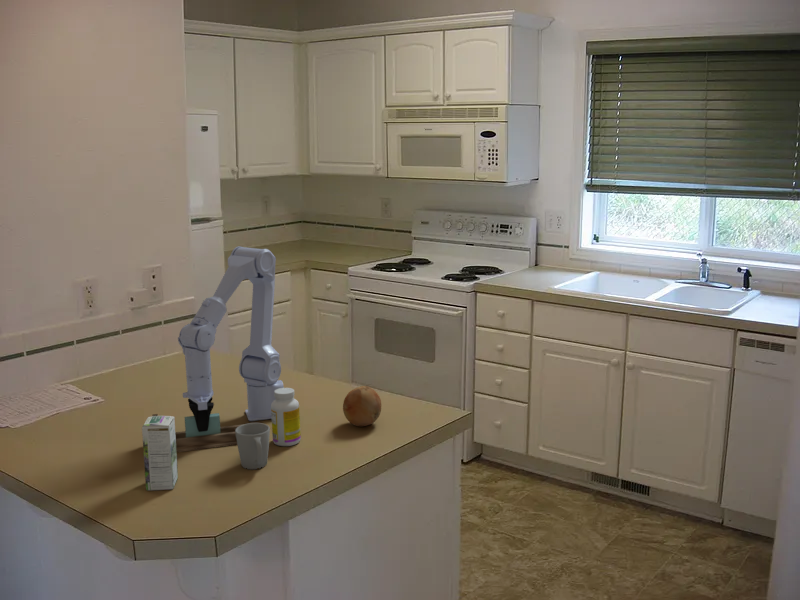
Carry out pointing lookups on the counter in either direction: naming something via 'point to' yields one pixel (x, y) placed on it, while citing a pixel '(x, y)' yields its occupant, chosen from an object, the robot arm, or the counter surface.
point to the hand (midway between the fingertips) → (202, 428)
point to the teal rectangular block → (193, 431)
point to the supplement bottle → (285, 418)
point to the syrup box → (160, 452)
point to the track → (206, 439)
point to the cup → (253, 444)
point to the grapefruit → (362, 406)
